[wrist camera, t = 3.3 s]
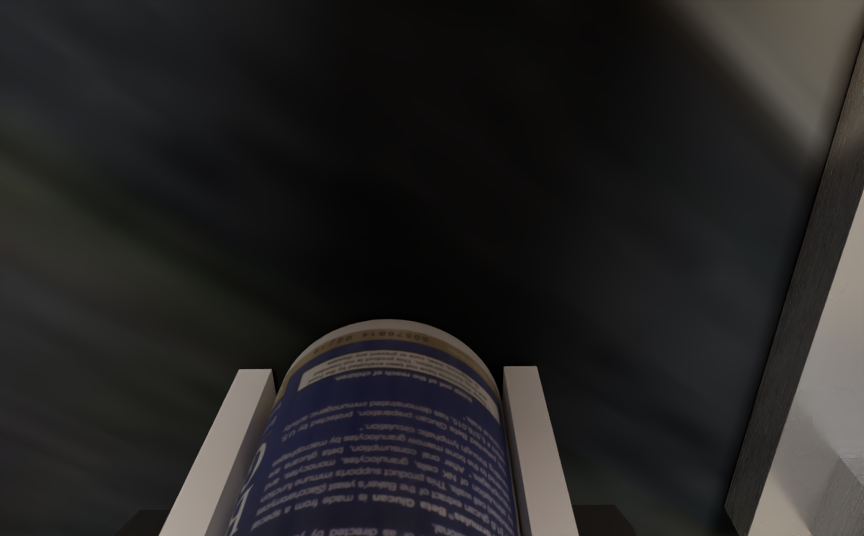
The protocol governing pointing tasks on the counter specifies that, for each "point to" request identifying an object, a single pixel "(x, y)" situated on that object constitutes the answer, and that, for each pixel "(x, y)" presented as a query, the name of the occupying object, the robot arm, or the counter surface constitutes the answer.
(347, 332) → the pill bottle
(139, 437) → the counter surface
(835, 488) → the metal plate with uprights
